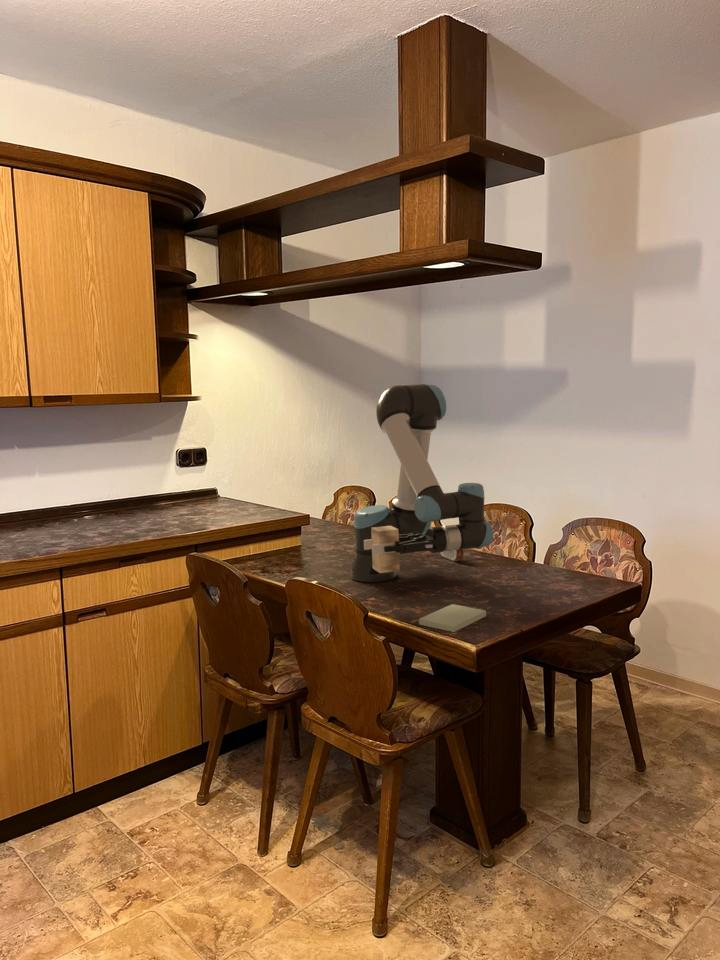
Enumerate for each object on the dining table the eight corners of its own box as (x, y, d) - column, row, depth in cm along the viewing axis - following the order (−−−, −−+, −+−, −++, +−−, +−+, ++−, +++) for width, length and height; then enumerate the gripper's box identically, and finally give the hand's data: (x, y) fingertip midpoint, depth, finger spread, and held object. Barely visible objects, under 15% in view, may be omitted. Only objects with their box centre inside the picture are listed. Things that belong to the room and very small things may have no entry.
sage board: (452, 609, 207) (452, 604, 207) (486, 616, 200) (486, 610, 200) (419, 624, 195) (418, 618, 195) (453, 632, 188) (453, 626, 188)
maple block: (391, 565, 213) (390, 525, 212) (399, 570, 208) (398, 529, 206) (372, 568, 211) (371, 527, 210) (379, 573, 206) (378, 531, 204)
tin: (464, 563, 259) (463, 540, 258) (456, 564, 258) (456, 541, 257) (444, 554, 273) (443, 532, 272) (436, 555, 272) (436, 533, 271)
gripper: (457, 558, 206) (380, 568, 199) (428, 545, 224) (357, 553, 216) (456, 532, 205) (379, 541, 198) (428, 520, 223) (356, 528, 215)
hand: (368, 547), depth 207 cm, fingers closed on maple block, 6 cm apart
